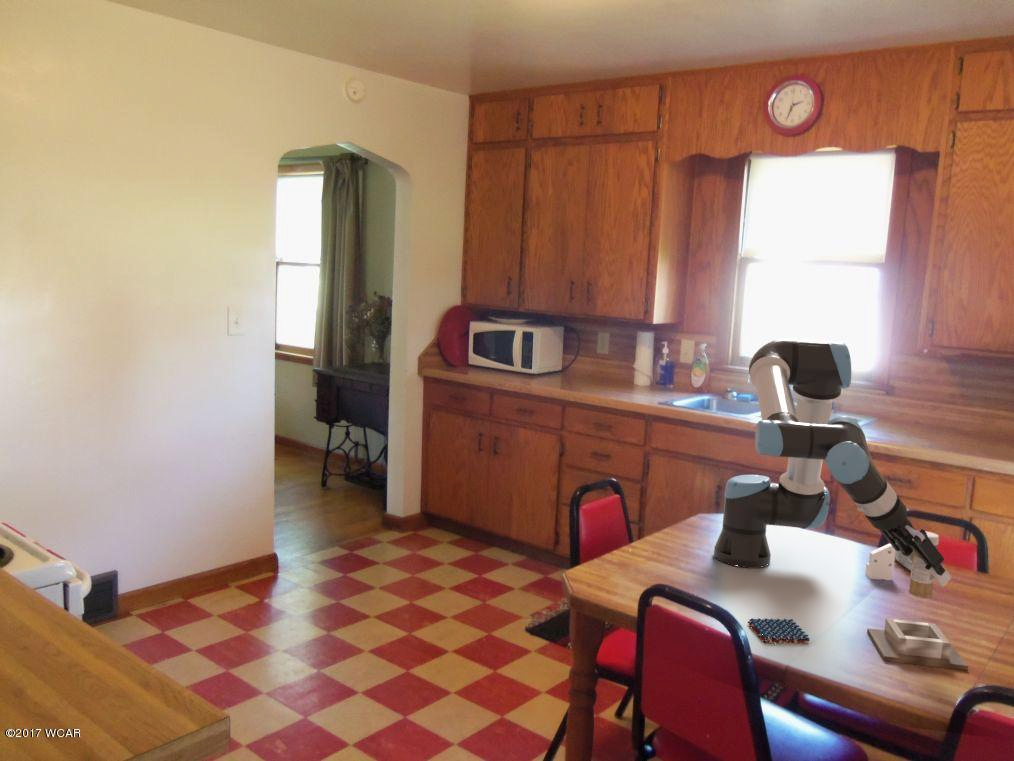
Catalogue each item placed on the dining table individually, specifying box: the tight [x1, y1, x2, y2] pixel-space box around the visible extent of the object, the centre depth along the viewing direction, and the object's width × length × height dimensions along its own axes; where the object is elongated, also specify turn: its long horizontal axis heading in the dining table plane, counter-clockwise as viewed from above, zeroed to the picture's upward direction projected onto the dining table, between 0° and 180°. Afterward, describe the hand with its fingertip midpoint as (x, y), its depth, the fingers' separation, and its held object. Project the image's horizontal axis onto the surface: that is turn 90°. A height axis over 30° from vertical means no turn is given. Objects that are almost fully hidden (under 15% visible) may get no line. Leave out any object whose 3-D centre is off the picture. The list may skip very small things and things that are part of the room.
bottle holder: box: [866, 618, 969, 671], centre depth 175 cm, size 16×14×4 cm
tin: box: [895, 544, 912, 573], centre depth 228 cm, size 15×3×8 cm, turn 179°
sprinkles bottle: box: [908, 530, 940, 599], centre depth 173 cm, size 5×5×13 cm
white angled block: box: [865, 542, 896, 581], centre depth 219 cm, size 4×10×9 cm, turn 84°
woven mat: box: [747, 617, 811, 645], centre depth 181 cm, size 10×11×2 cm
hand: (936, 577), depth 175 cm, fingers closed on sprinkles bottle, 4 cm apart
